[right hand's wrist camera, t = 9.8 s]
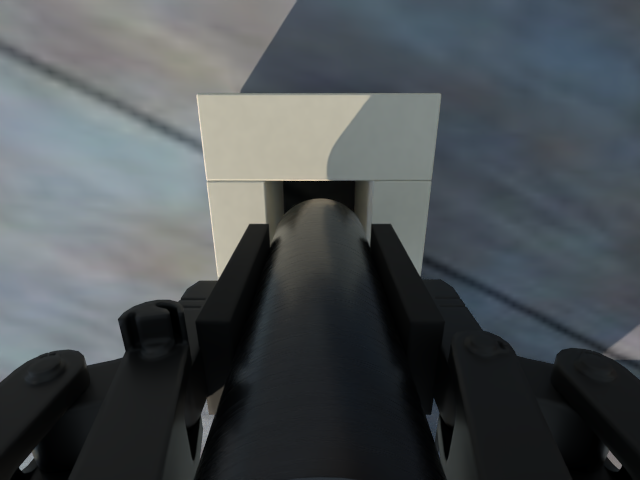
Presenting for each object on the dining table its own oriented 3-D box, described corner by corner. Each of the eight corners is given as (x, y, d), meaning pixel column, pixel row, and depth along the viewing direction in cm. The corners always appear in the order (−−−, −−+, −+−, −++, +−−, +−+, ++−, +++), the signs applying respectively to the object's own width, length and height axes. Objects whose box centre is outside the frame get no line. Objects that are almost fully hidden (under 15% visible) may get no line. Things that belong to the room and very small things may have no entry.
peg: (272, 198, 15) (140, 481, 4) (367, 198, 15) (500, 481, 4) (276, 282, 17) (188, 661, 5) (363, 282, 17) (451, 661, 5)
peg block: (237, 94, 22) (195, 93, 15) (400, 94, 22) (442, 93, 15) (265, 446, 33) (249, 547, 26) (373, 446, 33) (389, 547, 26)
